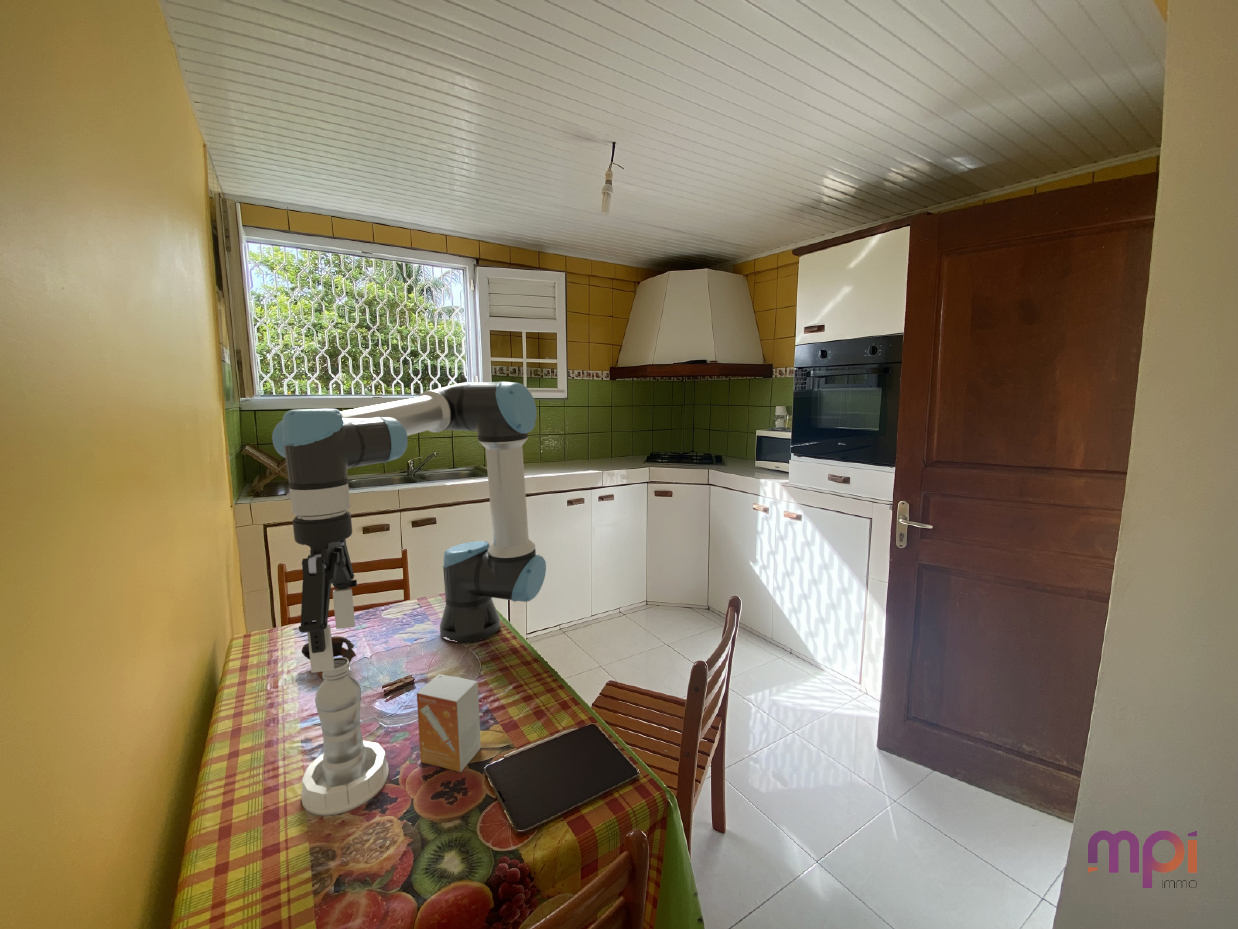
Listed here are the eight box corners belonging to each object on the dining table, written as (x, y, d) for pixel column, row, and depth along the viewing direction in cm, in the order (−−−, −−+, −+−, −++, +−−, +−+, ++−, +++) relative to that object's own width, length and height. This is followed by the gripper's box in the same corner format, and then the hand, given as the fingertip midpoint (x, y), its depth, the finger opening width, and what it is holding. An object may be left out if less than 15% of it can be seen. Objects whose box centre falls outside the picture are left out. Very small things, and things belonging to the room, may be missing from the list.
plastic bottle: (338, 801, 77) (326, 679, 75) (314, 783, 81) (302, 666, 78) (377, 774, 83) (368, 660, 80) (353, 758, 86) (344, 648, 84)
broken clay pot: (363, 656, 123) (362, 635, 118) (344, 692, 115) (342, 672, 110) (312, 646, 121) (309, 624, 117) (289, 682, 114) (285, 661, 109)
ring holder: (394, 750, 90) (392, 733, 89) (382, 805, 78) (380, 785, 77) (314, 764, 86) (313, 747, 86) (289, 824, 74) (287, 804, 74)
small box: (419, 763, 86) (415, 692, 85) (443, 739, 92) (439, 672, 91) (460, 774, 84) (456, 701, 82) (482, 748, 90) (478, 680, 88)
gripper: (317, 497, 86) (329, 615, 90) (259, 539, 63) (278, 697, 66) (366, 494, 88) (376, 610, 92) (327, 534, 65) (342, 688, 68)
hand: (335, 647), depth 79 cm, fingers open, 13 cm apart
